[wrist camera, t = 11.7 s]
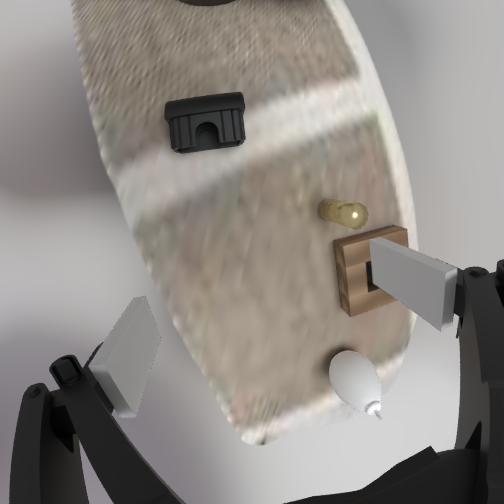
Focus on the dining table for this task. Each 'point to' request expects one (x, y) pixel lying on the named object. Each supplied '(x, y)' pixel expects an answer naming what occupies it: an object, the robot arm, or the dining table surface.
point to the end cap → (206, 122)
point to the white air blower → (356, 382)
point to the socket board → (362, 270)
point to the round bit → (344, 213)
